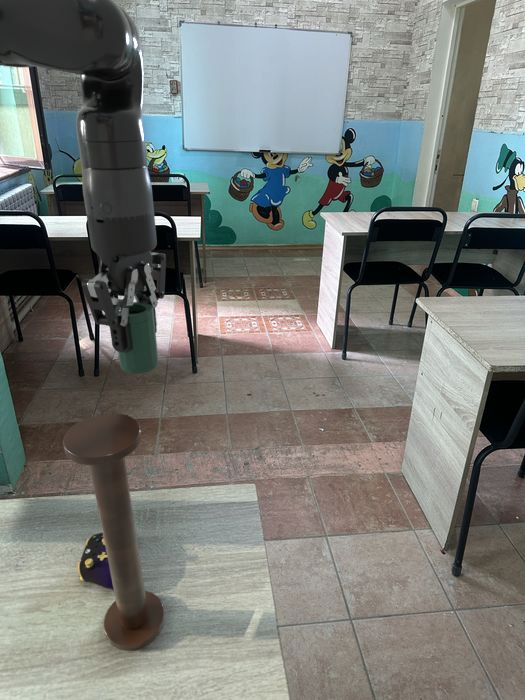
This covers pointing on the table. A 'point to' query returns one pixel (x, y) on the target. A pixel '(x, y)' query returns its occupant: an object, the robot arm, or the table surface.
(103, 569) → the gaming controller
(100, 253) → the robot arm
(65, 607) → the table surface
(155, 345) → the jar
